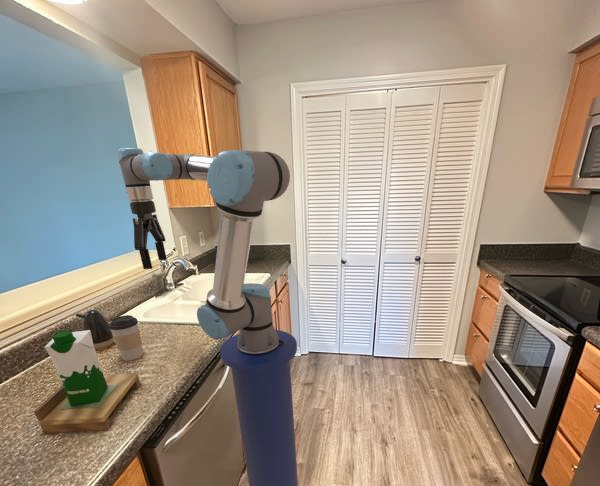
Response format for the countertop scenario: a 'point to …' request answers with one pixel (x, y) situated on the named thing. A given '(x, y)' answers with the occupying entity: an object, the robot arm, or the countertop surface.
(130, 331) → the coffee cup
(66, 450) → the countertop surface
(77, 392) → the soya milk
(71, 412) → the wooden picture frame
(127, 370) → the countertop surface
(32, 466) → the countertop surface
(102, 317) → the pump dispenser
